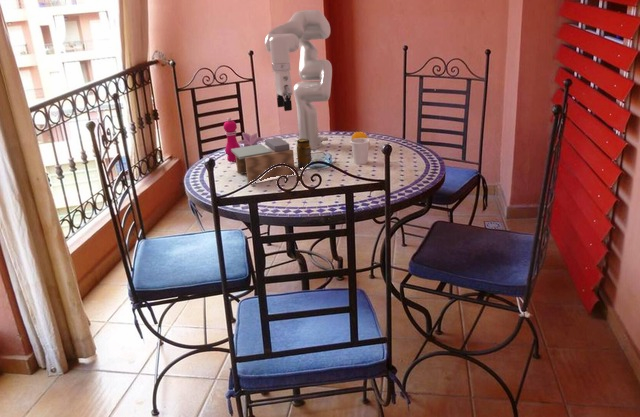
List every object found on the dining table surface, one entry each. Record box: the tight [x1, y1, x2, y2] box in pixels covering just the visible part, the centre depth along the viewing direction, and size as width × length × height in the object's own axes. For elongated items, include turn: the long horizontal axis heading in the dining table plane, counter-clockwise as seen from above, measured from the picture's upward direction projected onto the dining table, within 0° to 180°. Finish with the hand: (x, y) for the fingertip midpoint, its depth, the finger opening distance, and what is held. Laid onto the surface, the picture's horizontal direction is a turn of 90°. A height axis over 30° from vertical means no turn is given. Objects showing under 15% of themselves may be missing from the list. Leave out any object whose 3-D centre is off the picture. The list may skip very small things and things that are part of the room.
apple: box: [350, 131, 369, 141], centre depth 260 cm, size 8×8×8 cm
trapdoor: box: [231, 137, 291, 159], centre depth 227 cm, size 21×14×4 cm, turn 113°
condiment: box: [294, 139, 312, 171], centre depth 235 cm, size 7×8×12 cm
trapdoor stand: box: [235, 142, 299, 184], centre depth 229 cm, size 21×18×11 cm
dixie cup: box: [350, 137, 370, 166], centre depth 236 cm, size 8×8×10 cm
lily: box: [237, 132, 266, 147], centre depth 267 cm, size 12×12×10 cm
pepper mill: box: [223, 117, 241, 163], centre depth 251 cm, size 7×7×20 cm
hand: (284, 108), depth 230 cm, fingers open, 9 cm apart
